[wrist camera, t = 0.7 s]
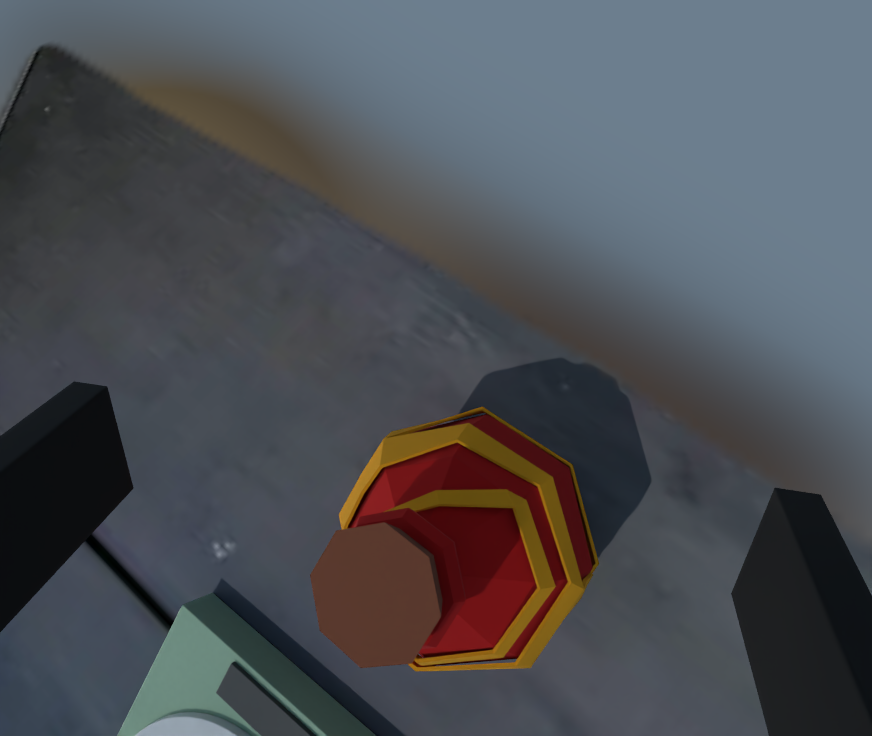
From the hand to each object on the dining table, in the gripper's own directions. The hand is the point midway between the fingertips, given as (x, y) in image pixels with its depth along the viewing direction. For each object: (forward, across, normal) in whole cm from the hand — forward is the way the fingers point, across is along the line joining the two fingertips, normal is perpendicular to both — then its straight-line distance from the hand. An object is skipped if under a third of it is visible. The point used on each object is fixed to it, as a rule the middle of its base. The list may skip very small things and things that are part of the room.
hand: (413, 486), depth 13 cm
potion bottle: (+15, +2, -14) cm, 20 cm away
